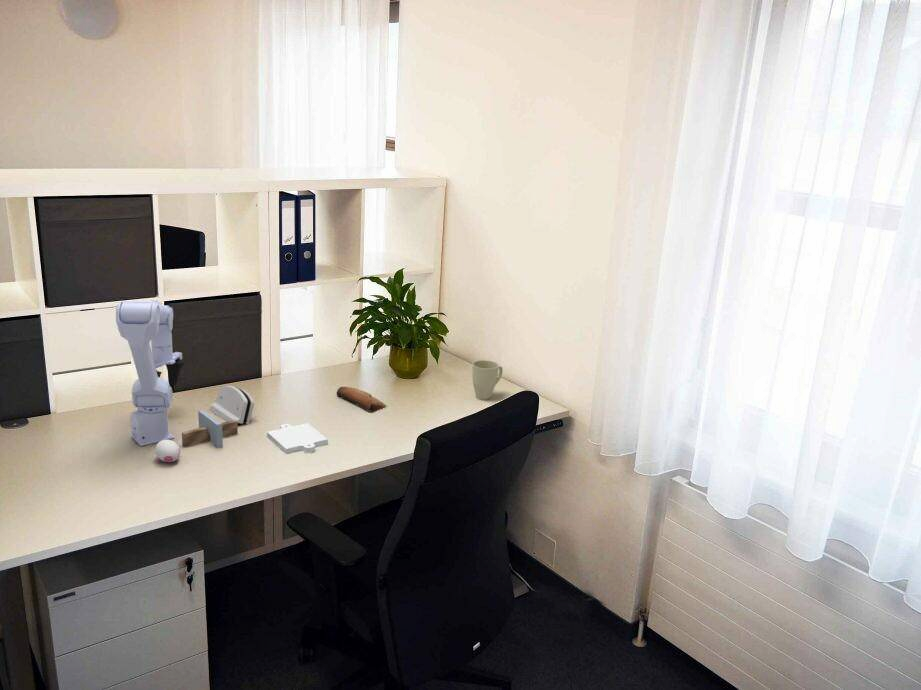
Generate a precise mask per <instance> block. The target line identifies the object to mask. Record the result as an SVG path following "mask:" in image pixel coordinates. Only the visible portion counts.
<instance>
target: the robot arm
mask: <svg viewBox="0 0 921 690" xmlns="http://www.w3.org/2000/svg"><path fill="white" fill-rule="evenodd" d="M173 321H174V309H173V307H170V305H163V304H162V302H159V301H158V300H157V299H156V300H155V299H153V300H151V301H142V300H141V301H139V300H138V301H135V300H134V301H133V300H132V301H131V300H130V301H118V303H117V305H116V308H115V323H116V326H117V329H118V332H119V335H120V337H122V339H125V340H126V341H127V343H128V347H129V349H130V352H131V356H132V360H133V363H134V366H135V370H136V374H137V377H138V379H137V380H134V382H133V384H132V387H131V401H132V405H133V406H134V408H137V410H135V411H133V412H132V411H131V412H130V437H131V438H132V439H133V440H134V441H135V442H136V443H137V444H138V445H139V446H147V445H151V444H155V443H158V442H160V441H162V440H172V439H175V437H174V435H173V434H172V433H171V432H169V421H168V418H169V417H168V409H169V408H170V407H171V406H172V403H173V398H174V397H173V393H174V392H173V388H172V386H173V385H175V386H176V385H177V383H178V379H179V376H180V372H181V369H182V368H183V366H184V360H183V353H182V352H179V351H175V352H173V335H172V330H173ZM163 366H165V367H166V369H167V376H168V380H166V379H164V378H161V376H162V375H161V374H162V371H158V370H157V369H158V368H161V367H163ZM171 385H172V386H171Z"/></svg>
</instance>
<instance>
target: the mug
mask: <svg viewBox="0 0 921 690" xmlns="http://www.w3.org/2000/svg"><path fill="white" fill-rule="evenodd" d="M502 375H503V367H502V366H501V365H499V363H498V362H495V361H492V360H486V359H480V360H475V361H473V362H472V384H473V390H474V394H475V397H476V398H477V399H478V400H482V401H483V400H484V401H486V400H490V399H491V397H492V394H493V391H494V390H495V387H496V385H497V384H498V383H499V381H500V380H501V378H502Z"/></svg>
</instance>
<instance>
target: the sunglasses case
mask: <svg viewBox="0 0 921 690" xmlns="http://www.w3.org/2000/svg"><path fill="white" fill-rule="evenodd" d="M336 396H337V397H340V398H342V399H344V400H347V401H349V402H351V403H353V404H355V405H357V406H360V407H361V408H363V409H365V410H367V411H369V412H370V413H371V412H372V413H373V412H374V411H375V412H377V410H378V411H380V409H381V410H383V408H384V409H386V408H388V406H387V404H385V403H384V402H383V401H381V400H380V399H377V398H376V397H374V396H373V395H372V394H371V393H369V392H367V391H365V390H362V389H358V388H355V387H352V386H351V387H350V386H340V387H339V388H337V390H336ZM385 407H386V408H385Z"/></svg>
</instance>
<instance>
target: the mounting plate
mask: <svg viewBox="0 0 921 690" xmlns="http://www.w3.org/2000/svg"><path fill="white" fill-rule="evenodd" d="M266 437H267V438H268V439H269V440H270V441H272V443H274V444H275V445H276V446H277V448H279V449H281V451H283V452H284V454H286V455H287V454H293V453H296V452H300V451H302V452H304V453H306V454H309V453H314V452H316V448H317V447H321V446H325V445H328V444H329V443H328V441H329V439H328V438H327V437H326V436H324V435H323V434H322V433H321V432H320V431H318V430H317V429H316V428H315V427H313V426H312V425H310V423H308V422H306V423H302V424H298V425H297V424H296V425H292V424H290V423H284V424H281V425H280V428H279V429H274V430H269V431H267V432H266Z"/></svg>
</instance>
